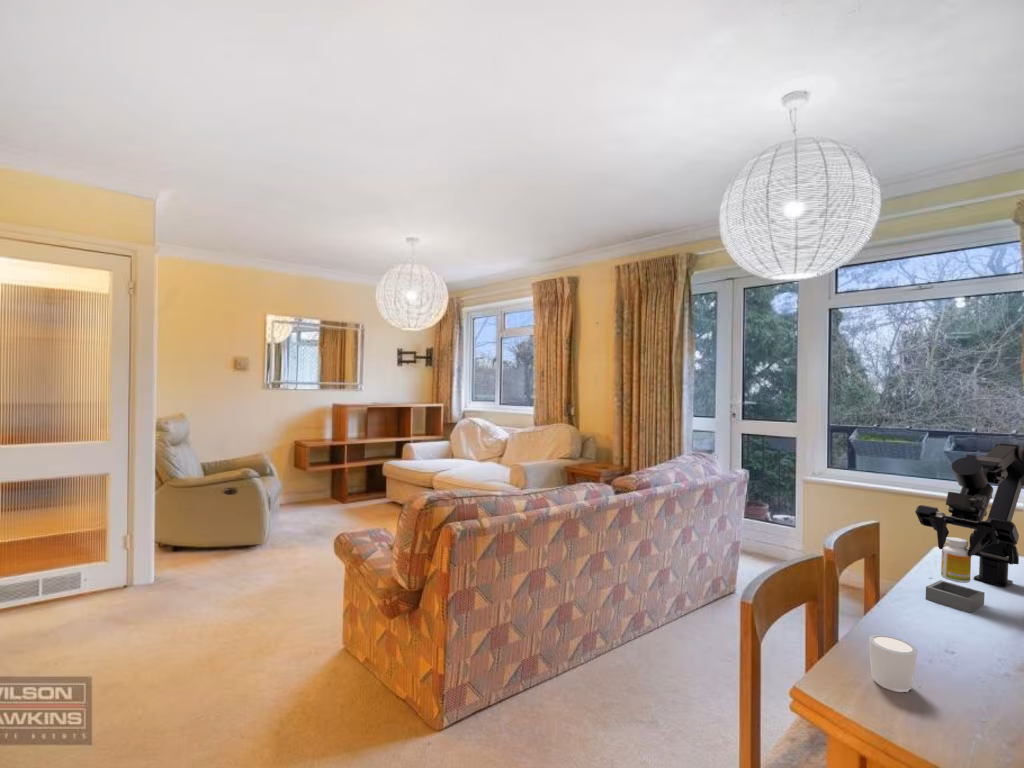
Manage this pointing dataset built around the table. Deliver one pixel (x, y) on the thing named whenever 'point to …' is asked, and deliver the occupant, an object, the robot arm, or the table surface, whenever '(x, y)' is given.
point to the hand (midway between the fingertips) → (954, 551)
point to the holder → (955, 596)
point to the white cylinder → (892, 661)
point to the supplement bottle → (956, 560)
